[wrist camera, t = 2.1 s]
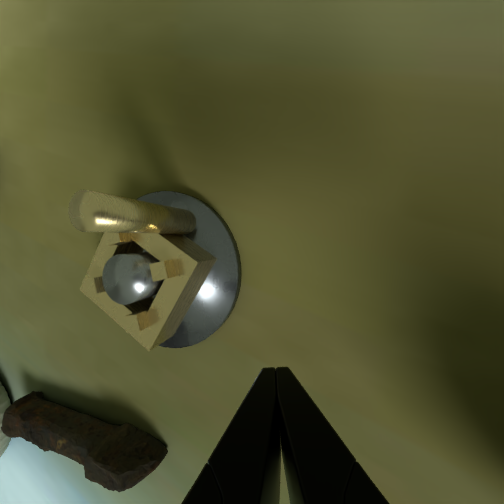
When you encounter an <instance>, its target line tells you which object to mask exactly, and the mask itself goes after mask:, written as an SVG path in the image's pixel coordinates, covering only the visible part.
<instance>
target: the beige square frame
mask: <svg viewBox="0 0 504 504" xmlns="http://www.w3.org/2000/svg"><path fill="white" fill-rule="evenodd" d="M69 217H70V220H71V222H72V224H73V226H74V227H75V228H76V229H77V230H79V231H82V232H104V234H103V236H102V239H101V241H100V243H99V246H98V248H97V250H96V253H95V255H94V257H93V260H92V262H91V264H90V267H89V269H88V271H87V273H86V276H85V278H84V280H82V285H81V287H80V290H81V291H82V292H83V293H84V294H85V296H88V297H89V298H90V299H91V300H92V301H93V302H94V303H95V304H97V305H98V306H99V307H100V308H101V309H102V310H103V311H104V312H106V313H107V314H108V315H109V316H110V317H111V318H112V319H113V320H114V321H116V322H117V323H118V324H119V325H120V326H121V327H122V328H123V329H125V330H126V332H127V333H129V334H130V335H131V336H132V337H134V338H135V339H136V340H137V341H138V342H139V343H140V344H141V345H143V346H144V347H145V348H146V349H147V350H148V351H150V350H152V349H153V348H155V347H157V346H158V345H160V344H161V343H163V342H164V341H166V340H167V339H169V338H170V337H172V336H173V335H174V334H175V332H176V331H177V329H178V327H179V325H180V324H181V322H182V320H183V318H184V317H185V315H186V313H187V311H188V310H189V308H190V306H191V304H192V303H193V301H194V299H195V297H196V295H197V294H198V292H199V290H200V288H201V287H202V285H203V283H204V281H205V280H206V278H207V276H208V274H209V273H210V271H211V269H212V267H213V266H214V264H215V262H216V260H217V258H216V257H214V256H213V255H211V254H210V253H209V252H207V251H206V250H204V249H203V248H202V247H200V246H199V245H197V244H196V243H194V242H193V241H192V240H190V239H189V238H187V237H186V236H185V235H183V234H189V233H191V232H192V231H193V230H194V228H195V226H196V218H195V216H194V214H193V213H192V212H191V211H189V210H185V209H180V208H175V207H170V206H165V205H160V204H155V203H150V202H145V201H140V200H135V199H130V198H125V197H120V196H115V195H110V194H105V193H100V192H95V191H90V190H79V191H77V192H76V193H75V194H74V195H73V196H72V198H71V200H70V203H69ZM144 249H145V250H146V251H147V252H149V253H150V254H151V255H153V256H154V257H155V258H157V259H158V260H159V261H161V262H156V263H152V264H149V266H150V270H151V275H152V280H153V282H154V281H159V280H163V279H165V280H164V282H163V284H162V286H161V287H160V289H159V291H158V293H157V295H156V297H155V298H153V297H152V296H151V297H148V298H145V299H142V300H140V301H137V302H134V303H131V304H127V305H122V304H118V303H116V302H114V301H113V300H112V299H111V298H110V297H109V296H108V294H107V293H106V291H105V289H104V286H103V281H102V274H103V269H104V266H105V264H106V262H107V261H108V260H109V259H110V258H111V257H112V256H114V255H118V254H129V253H141V252H143V250H144Z"/></svg>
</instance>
